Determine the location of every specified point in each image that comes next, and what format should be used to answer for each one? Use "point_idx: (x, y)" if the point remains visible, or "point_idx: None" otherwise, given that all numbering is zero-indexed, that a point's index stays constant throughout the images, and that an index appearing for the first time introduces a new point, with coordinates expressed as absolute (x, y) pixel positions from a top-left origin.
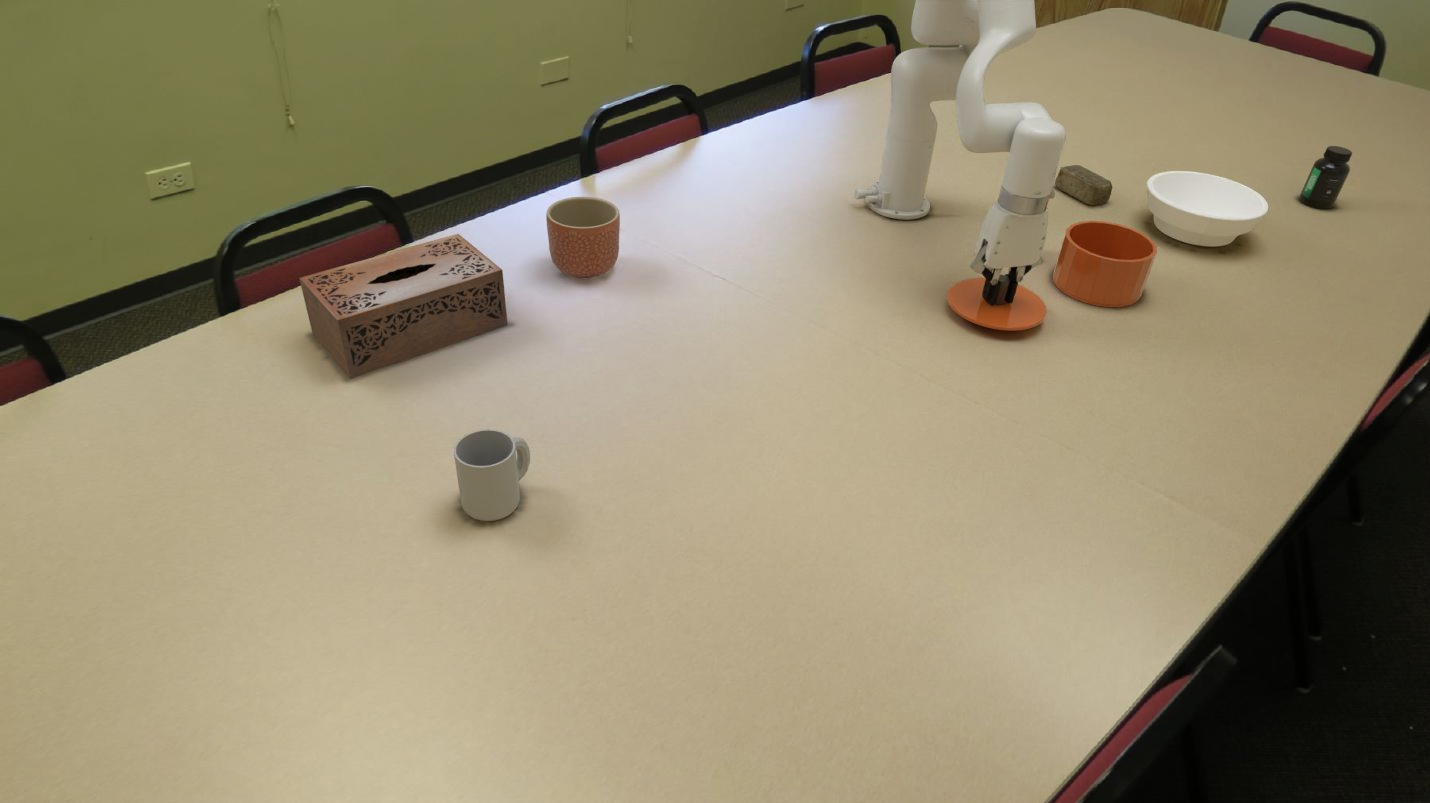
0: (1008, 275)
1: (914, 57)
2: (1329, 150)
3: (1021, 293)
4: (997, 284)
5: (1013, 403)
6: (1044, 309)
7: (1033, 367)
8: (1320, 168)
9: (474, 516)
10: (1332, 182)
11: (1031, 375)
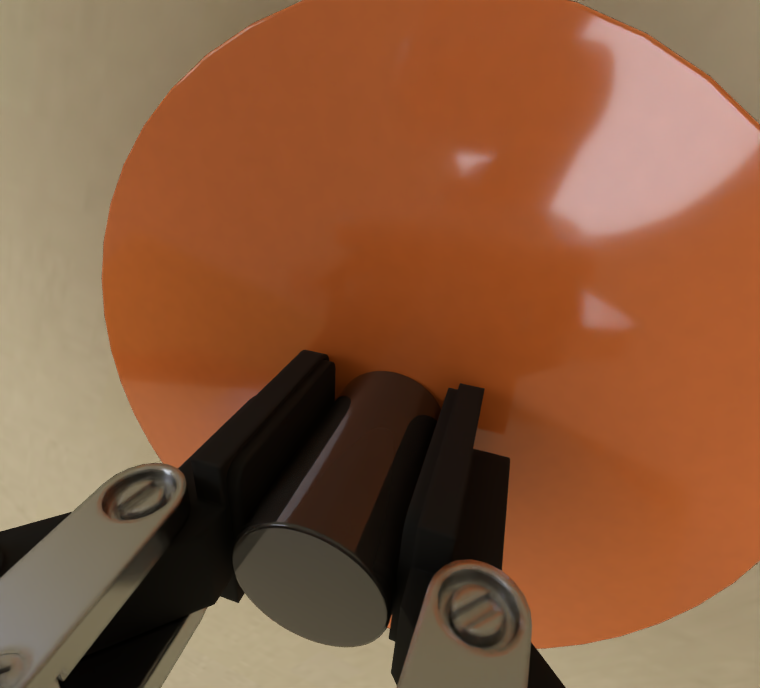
0: (404, 593)
1: None
2: None
3: (691, 419)
4: (227, 588)
5: (206, 676)
6: (644, 619)
7: (339, 653)
8: None
9: None
10: None
11: (310, 663)
